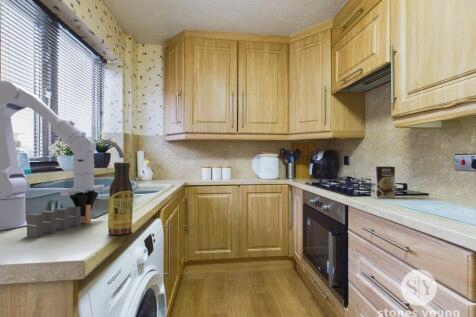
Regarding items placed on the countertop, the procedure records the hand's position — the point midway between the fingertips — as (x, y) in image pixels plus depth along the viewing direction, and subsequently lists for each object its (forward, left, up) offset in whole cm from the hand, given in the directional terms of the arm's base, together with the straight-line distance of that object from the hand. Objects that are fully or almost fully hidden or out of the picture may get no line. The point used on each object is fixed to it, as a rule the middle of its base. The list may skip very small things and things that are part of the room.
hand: (84, 215), depth 85 cm
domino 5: (0, 0, -3) cm, 3 cm away
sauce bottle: (+21, +2, -3) cm, 21 cm away
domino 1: (+5, -14, -2) cm, 15 cm away
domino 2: (+4, -11, -2) cm, 12 cm away
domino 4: (+1, -4, -2) cm, 5 cm away
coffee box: (+66, +116, -3) cm, 133 cm away
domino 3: (+3, -7, -2) cm, 8 cm away
